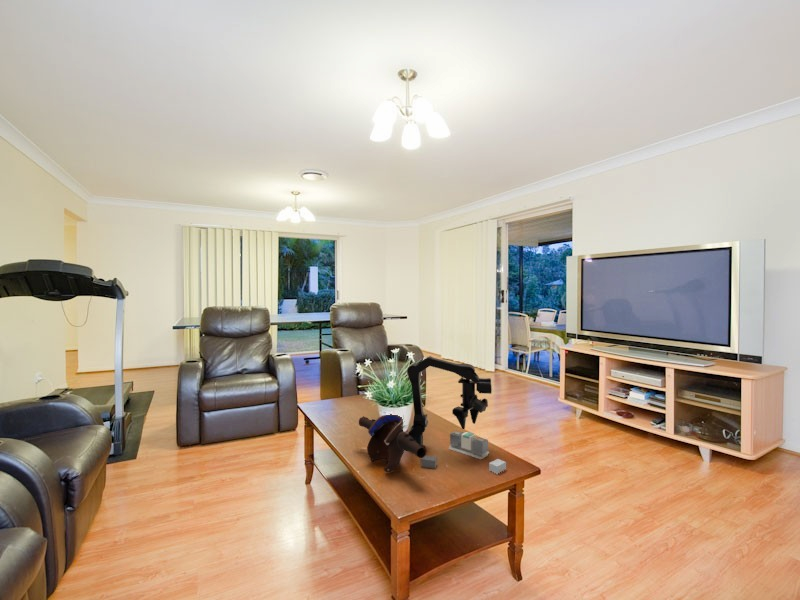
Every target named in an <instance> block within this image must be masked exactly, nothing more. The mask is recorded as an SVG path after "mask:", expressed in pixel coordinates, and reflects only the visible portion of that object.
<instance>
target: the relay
mask: <svg viewBox="0 0 800 600" xmlns="http://www.w3.org/2000/svg"><path fill="white" fill-rule="evenodd" d="M437 461H438V458H437V456H433V455H425V456H424V457H423V458H420V464H421V465H420V467H421V468H427V469H436V467H437V464H438V462H437Z"/></svg>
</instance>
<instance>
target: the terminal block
mask: <svg viewBox="0 0 800 600" xmlns="http://www.w3.org/2000/svg"><path fill="white" fill-rule="evenodd" d="M505 469H506V470H507V461H504V460H503V459H500V458H496V459H495V460H492V461H490V462H489V463H488V471H489V472H490V471H492V472H491V473H493V472H494V473H493V474H495V473H496V474H495V475H499V474H501V473H502V472H501V471H503V470H505ZM506 470H505V471H506ZM500 472H501V473H500ZM503 472H504V471H503ZM498 473H499V474H498Z"/></svg>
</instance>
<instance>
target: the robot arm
mask: <svg viewBox="0 0 800 600" xmlns="http://www.w3.org/2000/svg"><path fill="white" fill-rule="evenodd" d="M429 367H432V368H436V369H440V370H443V371H447V372H450V373H454V374H456V375H458V376H460V378H459V379H458V381H457V382H458V384H461V386H462V387H461V389H462V390H461V391H462V393H461V394H460V398H461V399H462V402H461V403H460V406H459V405H457V406H456V407H454V408H452V415H453V416H454V417H455V418H456V419H457V420H458V423H459V425H460V427H461V429H462V430H465V428H466V420H467V418H468V417H469V414H470V418H471V421H472V424H473V425H474V424H476V422H477V418H478V416H479V413H483V412H485V411H486V409H487V408H488V407H489V405H488V404H489V401H488V399H487V398H482V399H481V398H480V399H479V398H478V395H477V394H476V392H478V393H479V394H489V395H491V394H492V390H493V388H492V378H491V377H490V378H489V377H488V378H487V377H486V378H481V377H479V375H478V374H477V373H476V369H475V367H474V365H472V364H468V363H454V362H453V361H447V360H444V359H439V358H436V357H433V356H427V357H426V358H424V359H422V360H420V361H418V362H413V363H411V364H410V365H409V366H408V367H407V370H406V373H407V377H408V380H409V382H410V384H411V393H412V403H413V404H412V405H413V413H414V414H413V420H412V422H413V424H412V426H411V427H410V429H409V431H408V433H407V434H409V436H412V437H413V439H414V441H417V443H418V444H421V445H423V446H424V447H425V448H426V445H424V436H423V435H424V432H426V428H427V427H428V424H429V420H428V414H425V413H424V408H423V401H422V400H423V398H422V390H421V389H422V388H421V379H422V378H421V377H422V372H423V371H424V370H427V369H428V368H429Z"/></svg>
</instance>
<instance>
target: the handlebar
mask: <svg viewBox="0 0 800 600" xmlns="http://www.w3.org/2000/svg"><path fill="white" fill-rule="evenodd" d="M403 420H404V418H403V419H402V417H400V416H398V415H392V414H390V415H386V414H384V415H380V416H379V417H378V418H377V419H369V418H368V417H366V416H362V417H361V416H360V418H359V420H358V425H359V426H360V427H363V428H365V429H367V434H368V435H369V436H370V437H371V438H370V439H369V440H368V444H367V446H366V447H367V448H366V451H367V455H368V457H369V458H370V463H371V464H372V463H376V462H378V461H387V465H386V467H385V468H384V469H383V470H384V472H385V473H392V472H395V471H396V470H397V469H398V468H399V466H400V463H401V461H402V460H401V459H402V457H403V455H404V451H405V452H409V453H412V454H414V455H415V456H416V457H417V458H419V459H422V458H423V457H424V456H427V448H426V446H425V447H424V446H423V445H424V444H423V445H421V444H418V443H417V441H414V439H413V437H412V436H409V434H408V433H407V432H405V431H404V422H403Z"/></svg>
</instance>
